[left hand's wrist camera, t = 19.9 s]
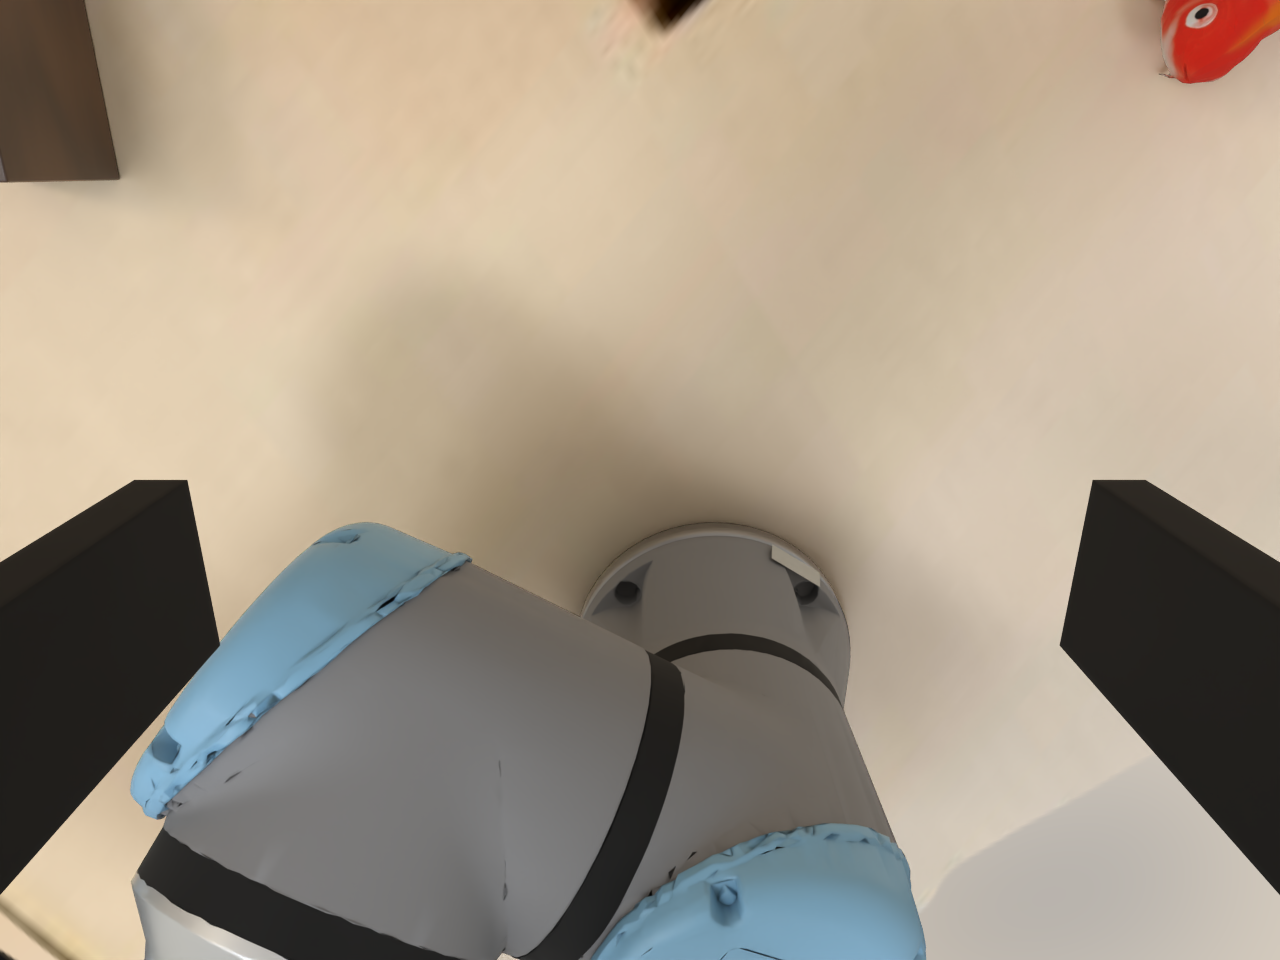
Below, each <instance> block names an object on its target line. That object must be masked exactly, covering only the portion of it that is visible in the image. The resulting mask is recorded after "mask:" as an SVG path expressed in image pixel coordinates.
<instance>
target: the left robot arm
mask: <svg viewBox="0 0 1280 960" xmlns="http://www.w3.org/2000/svg"><path fill="white" fill-rule="evenodd" d="M471 562H472V558H470V557H469V556H468V555H466V554H464V553H460V552H458V553H454V554H451V553H449V552H447V551H444V550H442V549H440V548H437V547H435V546H433V545H430V544H428V543H426V542H423V541H421V540H419V539H416V538H414V537H412V536H409V535H407V534H405V533H402V532H400V531H398V530H395V529H393V528H391V527H388V526H386V525H382V524H378V523H371V522H363V523H355V524H350V525H346V526H343V527H340V528H338V529H336V530H334V531H332V532H330V533H328V534H326V535H325V536H323V537H322V538H320V539H319V540H318V541H316V542H315V543H313V544H312V545H311V546H310V547H309V548H308V549H306V550H305V551H304V552H303V553H302V554H300V555H299V556H298V557H297V558H296V559H295V560H294V561H293V562H292V563H291V564H289V565H288V566H287V567H286V568H285V569H284V570H283V571H282V572H281V573H280V574H279V575H278V576H277V577H276V578H275V579H274V580H273V582H272V583H271V584H270V585H269V586H268V587H267V588H266V589H265V590H264V591H263V592H262V594H261V595H260V596H259V597H258V598H257V599H256V600H255V601H254V602H253V604H252V605H251V606H250V607H249V608H248V609H247V610H246V611H245V613H244V614H243V615H242V616H241V617H240V619H239V620H238V621H237V622H236V623H235V624H234V626H233V627H232V628H231V629H230V630H229V632H228V633H227V634H226V635H225V637H224V638H223V639H222V640H221V642H219V637H218V632H217V627H216V622H215V617H214V612H213V607H212V602H211V597H210V592H209V587H208V582H207V577H206V572H205V567H204V562H203V557H202V552H201V547H200V542H199V537H198V531H197V526H196V521H195V516H194V511H193V506H192V501H191V496H190V491H189V486H188V481H187V480H134V481H132V482H130V483H129V484H127V485H126V486H124V487H122V488H121V489H119V490H117V491H116V492H114V493H113V494H111V495H109V496H108V497H106V498H104V499H103V500H101V501H99V502H98V503H96V504H95V505H93V506H91V507H90V508H88V509H86V510H85V511H83V512H82V513H80V514H78V515H77V516H75V517H73V518H72V519H70V520H68V521H67V522H65V523H64V524H62V525H60V526H59V527H57V528H55V529H54V530H52V531H51V532H49V533H47V534H46V535H44V536H42V537H41V538H39V539H38V540H36V541H34V542H33V543H31V544H29V545H28V546H26V547H24V548H23V549H21V550H20V551H18V552H16V553H15V554H13V555H11V556H10V557H8V558H7V559H5V560H3V561H2V562H0V894H1V893H2V892H3V891H4V890H5V889H6V888H7V887H8V885H9V884H10V883H11V882H12V881H13V880H14V879H15V877H16V876H17V875H18V874H19V873H20V872H21V871H22V870H23V868H24V867H25V866H26V865H27V864H28V863H29V862H30V860H31V859H32V858H33V857H34V856H35V855H36V854H37V853H38V851H39V850H40V849H41V848H42V847H43V846H44V845H45V843H46V842H47V841H48V840H49V839H50V838H51V837H52V836H53V834H54V833H55V832H56V831H57V830H58V829H59V828H60V826H61V825H62V824H63V823H64V822H65V821H66V820H67V819H68V817H69V816H70V815H71V814H72V813H73V812H74V811H75V809H76V808H77V807H78V806H79V805H80V804H81V803H82V802H83V800H84V799H85V798H86V797H87V796H88V795H89V794H90V792H91V791H92V790H93V789H94V788H95V787H96V786H97V785H98V783H99V782H100V781H101V780H102V779H103V778H104V777H105V775H106V774H107V773H108V772H109V771H110V770H111V769H112V768H113V766H114V765H115V764H116V763H117V762H118V761H119V760H120V758H121V757H122V756H123V755H124V754H125V753H126V752H127V751H128V749H129V748H130V747H131V746H132V745H133V744H134V743H135V741H136V740H137V739H138V738H139V737H140V736H141V735H142V734H143V732H144V731H145V730H146V729H147V728H148V727H149V726H150V724H151V723H152V722H153V721H154V720H155V719H156V718H157V717H158V715H159V714H160V713H161V712H162V711H163V710H164V709H165V707H166V706H167V705H168V704H169V703H170V702H171V701H172V700H173V698H174V697H175V696H176V695H177V694H178V693H179V692H180V691H181V689H182V688H183V687H184V686H185V685H186V684H187V683H188V681H189V680H190V679H191V678H192V677H193V676H194V677H193V678H192V679H191V681H190V682H189V683H188V685H187V686H186V687H185V689H184V690H183V692H182V693H181V695H180V696H179V698H178V699H177V701H176V702H175V703H174V705H173V706H172V708H171V709H170V711H169V713H168V714H167V717H166V719H165V722H164V723H165V724H164V725H163V727H162V728H161V729H160V731H159V732H158V734H157V735H156V737H155V738H154V740H153V741H152V742H151V744H150V745H149V746H148V748H147V749H146V750H145V752H144V753H143V755H142V756H141V758H140V760H139V762H138V764H137V766H136V769H135V771H134V774H133V777H132V780H131V789H130V791H131V795H132V797H133V798H134V800H135V801H136V802H137V803H138V804H140V805H141V806H142V807H143V811H144V813H145V815H146V816H149V817H152V818H154V819H162V818H164V817H165V816H167V817H166V820H165V823H164V826H163V828H162V830H161V831H160V833H159V835H158V836H157V838H156V840H155V841H154V843H153V845H152V846H151V848H150V850H149V852H148V853H147V855H146V857H145V858H144V860H143V862H142V863H141V865H140V867H139V868H138V870H137V872H136V874H135V875H134V877H133V879H132V881H131V883H132V889H133V893H134V896H135V900H136V904H137V908H138V912H139V916H140V920H141V924H142V928H143V932H144V935H145V939H146V944H145V959H144V960H497V959H498V957H499V956H500V955H501V953H505V954H508V955H511V956H512V957H514V958H517V959H520V960H926V952H925V950H926V945H925V939H924V934H923V929H922V925H921V922H920V919H919V915H918V912H917V909H916V905H915V902H914V899H913V895H912V892H911V882H910V868H909V865H908V862H907V860H906V858H905V855H904V854H903V852H902V850H901V849H899V848H898V845H897V843H896V840H895V838H894V835H893V833H892V830H891V828H890V825H889V823H888V820H887V818H886V815H885V813H884V810H883V808H882V805H881V803H880V800H879V798H878V795H877V793H876V790H875V788H874V785H873V783H872V780H871V778H870V775H869V773H868V770H867V768H866V765H865V763H864V760H863V758H862V755H861V753H860V750H859V748H858V745H857V743H856V740H855V738H854V735H853V733H852V730H851V728H850V725H849V723H848V720H847V718H846V715H845V712H844V710H843V709H844V702H845V696H846V689H847V682H848V675H849V668H850V637H849V632H848V626H847V623H846V619H845V616H844V613H843V611H842V609H841V606H840V604H839V602H838V600H837V598H836V595H835V593H834V591H833V589H832V587H831V585H830V584H829V582H828V580H827V579H826V577H825V576H824V575H823V573H822V572H821V571H820V569H819V568H818V567H817V566H816V565H815V564H814V563H813V562H812V561H811V560H810V559H809V558H808V557H807V556H806V555H805V554H804V553H802V552H801V551H800V550H798V549H797V548H796V547H794V546H793V545H791V544H790V543H788V542H786V541H784V540H783V539H781V538H779V537H777V536H774V535H772V534H770V533H768V532H765V531H762V530H759V529H756V528H752V527H748V526H743V525H737V524H730V523H698V524H691V525H685V526H680V527H676V528H672V529H669V530H666V531H663V532H660V533H658V534H655V535H653V536H651V537H648V538H646V539H645V540H643V541H641V542H639V543H637V544H635V545H634V546H632V547H631V548H630V549H628V550H627V551H625V552H624V553H623V554H621V555H620V556H619V557H618V558H617V559H615V560H614V561H613V562H612V563H611V564H610V565H609V566H608V567H607V568H606V569H605V571H604V572H603V573H602V574H601V576H600V577H599V578H598V579H597V581H596V582H595V584H594V586H593V587H592V589H591V590H590V592H589V594H588V596H587V598H586V600H585V603H584V606H583V608H582V611H581V615H580V617H579V616H577V615H575V614H573V613H571V612H569V611H567V610H565V609H563V608H561V607H559V606H557V605H555V604H553V603H551V602H549V601H547V600H545V599H543V598H541V597H539V596H537V595H535V594H533V593H531V592H529V591H527V590H524V589H522V588H520V587H518V586H516V585H514V584H512V583H510V582H508V581H506V580H504V579H502V578H500V577H498V576H496V575H494V574H492V573H490V572H488V571H486V570H484V569H482V568H480V567H478V566H476V565H474V564H472V563H471ZM1060 646H1061V647H1062V649H1063V650H1064V651H1065V652H1066V653H1067V654H1068V655H1069V657H1070V658H1071V659H1072V660H1073V661H1074V662H1075V663H1076V664H1077V666H1078V667H1079V668H1080V669H1081V670H1082V671H1083V672H1084V674H1085V675H1086V676H1087V677H1088V678H1089V679H1090V680H1091V681H1092V683H1093V684H1094V685H1095V686H1096V687H1097V688H1098V689H1099V691H1100V692H1101V693H1102V694H1103V695H1104V696H1105V697H1106V698H1107V700H1108V701H1109V702H1110V703H1111V704H1112V705H1113V706H1114V708H1115V709H1116V710H1117V711H1118V712H1119V713H1120V714H1121V715H1122V717H1123V718H1124V719H1125V720H1126V721H1127V722H1128V723H1129V724H1130V726H1131V727H1132V728H1133V729H1134V730H1135V731H1136V732H1137V734H1138V735H1139V736H1140V737H1141V738H1142V739H1143V740H1144V741H1145V743H1146V744H1147V745H1148V746H1149V747H1150V748H1151V749H1152V751H1153V752H1154V753H1155V754H1156V755H1157V756H1158V757H1159V758H1160V760H1161V761H1162V762H1163V763H1164V764H1165V765H1166V766H1167V768H1168V769H1169V770H1170V771H1171V772H1172V773H1173V774H1174V775H1175V777H1176V778H1177V779H1178V780H1179V781H1180V782H1181V783H1182V785H1183V786H1184V787H1185V788H1186V789H1187V790H1188V791H1189V792H1190V794H1191V795H1192V796H1193V797H1194V798H1195V799H1196V800H1197V802H1198V803H1199V804H1200V805H1201V806H1202V807H1203V808H1204V809H1205V811H1206V812H1207V813H1208V814H1209V815H1210V816H1211V817H1212V819H1213V820H1214V821H1215V822H1216V823H1217V824H1218V825H1219V826H1220V828H1221V829H1222V830H1223V831H1224V832H1225V833H1226V834H1227V836H1228V837H1229V838H1230V839H1231V840H1232V841H1233V842H1234V843H1235V845H1236V846H1237V847H1238V848H1239V849H1240V850H1241V851H1242V853H1243V854H1244V855H1245V856H1246V857H1247V858H1248V859H1249V860H1250V862H1251V863H1252V864H1253V865H1254V866H1255V867H1256V868H1257V869H1258V871H1259V872H1260V873H1261V874H1262V875H1263V876H1264V877H1265V879H1266V880H1267V881H1268V882H1269V883H1270V884H1271V885H1272V886H1273V888H1274V889H1275V890H1276V891H1277V892H1278V893H1279V894H1280V562H1278V561H1277V560H1275V559H1273V558H1272V557H1270V556H1269V555H1267V554H1265V553H1264V552H1262V551H1260V550H1259V549H1257V548H1256V547H1254V546H1252V545H1251V544H1249V543H1247V542H1246V541H1244V540H1242V539H1241V538H1239V537H1238V536H1236V535H1234V534H1233V533H1231V532H1229V531H1228V530H1226V529H1225V528H1223V527H1221V526H1220V525H1218V524H1216V523H1215V522H1213V521H1211V520H1210V519H1208V518H1207V517H1205V516H1203V515H1202V514H1200V513H1198V512H1197V511H1195V510H1194V509H1192V508H1190V507H1189V506H1187V505H1185V504H1184V503H1182V502H1181V501H1179V500H1177V499H1176V498H1174V497H1172V496H1171V495H1169V494H1167V493H1166V492H1164V491H1163V490H1161V489H1159V488H1158V487H1156V486H1154V485H1153V484H1151V483H1150V482H1148V481H1146V480H1093V481H1092V486H1091V491H1090V496H1089V501H1088V506H1087V511H1086V516H1085V521H1084V526H1083V531H1082V536H1081V542H1080V547H1079V552H1078V557H1077V562H1076V567H1075V572H1074V577H1073V582H1072V587H1071V592H1070V597H1069V602H1068V607H1067V612H1066V617H1065V622H1064V627H1063V632H1062V637H1061V642H1060ZM196 672H197V673H196Z"/></svg>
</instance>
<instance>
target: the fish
mask: <svg viewBox="0 0 1280 960" xmlns="http://www.w3.org/2000/svg"><path fill="white" fill-rule="evenodd" d="M1164 1H1165V5H1164V9H1163V14H1162V17H1161V30H1160V37H1161V49H1162V56H1163V58H1164V61H1165V64H1166V66H1167V68H1168V70H1169V72H1170V74H1169V75H1166V74H1160V75H1163V76H1166V77H1169V78H1176V79H1178V80H1179V81H1181V82H1182V83H1190V84H1191V83H1197V82H1211V81H1215V80H1217V79H1219V78H1221V77H1223V76H1224V75H1226V74H1227V73H1228V72H1229V71H1230V70H1231V69H1232V68H1233V67H1234V66H1236V65H1237V64H1238V63H1240V62H1241V61H1243V60H1244V59H1245V58H1246V57H1247V56H1248V55H1249V54H1250V53H1251V52H1252V51H1253V50H1254V49H1255V47H1256V46H1257V45H1258V44H1259V42H1260V41H1261V40H1262V39H1264V38H1265V37H1267V36H1269V35H1271V34H1272V33H1274V32H1276V31H1277V30H1279V29H1280V0H1164Z"/></svg>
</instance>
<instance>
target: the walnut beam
mask: <svg viewBox="0 0 1280 960" xmlns="http://www.w3.org/2000/svg"><path fill="white" fill-rule="evenodd" d="M97 180H119V175H118V170H117V165H116V160H115V155H114V150H113V145H112V140H111V135H110V130H109V125H108V120H107V115H106V110H105V105H104V100H103V95H102V90H101V85H100V80H99V75H98V70H97V65H96V60H95V55H94V50H93V45H92V40H91V35H90V30H89V25H88V21H87V16H86V11H85V6H84V1H83V0H0V182H50V181H97Z"/></svg>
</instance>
